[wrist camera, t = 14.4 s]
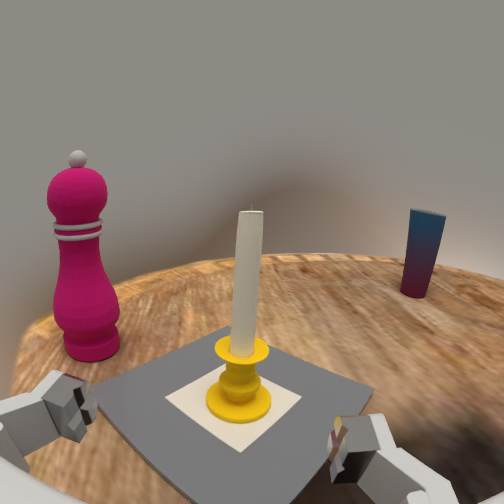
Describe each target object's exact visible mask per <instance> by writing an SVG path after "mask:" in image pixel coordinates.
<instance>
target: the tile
mask: <svg viewBox="0 0 504 504" xmlns="http://www.w3.org/2000/svg"><path fill="white" fill-rule="evenodd" d="M230 335H231V327H229V326H226V327H224V328H222V329H219V330H217V331H215V332H213V333H211V334H209V335H207V336H205V337H203V338H201V339H198V340H196V341H194V342H192V343H190V344H188V345H185V346H183V347H181V348H179V349H177V350H175V351H172V352H170V353H168V354H166V355H163V356H161V357H159V358H157V359H154V360H152V361H150V362H148V363H145V364H143V365H141V366H138V367H136V368H134V369H131V370H129V371H127V372H124V373H122V374H119V375H117V376H115V377H112V378H110V379H107V380H105V381H103V382H100V383H98V384H95V385H93V386H92V388H93V391H92V392H91V394H92V395H93V397H94V398H95V399H96V401H97V407H98V409H99V410H100V411H101V412H102V414H103V415H104V416H105V417H106V419H107V420H108V421H109V422H110V423H111V424H112V426H113V427H114V428H115V429H116V430H117V431H118V433H119V434H120V435H121V436H122V437H123V438H124V439H125V440H126V441H127V443H128V444H129V445H130V446H131V447H132V448H133V449H134V450H135V451H136V452H137V453H138V454H139V455H140V456H141V457H142V458H143V459H144V460H145V461H146V462H147V463H148V464H149V465H150V466H151V467H152V468H153V469H154V470H155V471H156V472H157V473H158V474H159V475H160V476H161V477H162V478H164V479H165V480H166V481H167V482H168V483H169V484H170V485H171V486H172V487H174V488H175V489H176V490H177V491H178V492H179V493H181V494H182V495H183V496H184V497H185V498H187V499H188V500H189V501H190V502H191V503H193V504H292V503H293V502H294V501H295V500H296V498H297V497H298V496H299V495H300V494H301V493H302V492H303V490H304V489H305V488H306V487H307V486H308V484H309V483H310V482H311V481H312V480H313V478H314V477H315V476H316V475H317V473H318V472H319V471H320V470H321V468H322V467H323V466H324V465H325V463H326V462H327V461H328V459H329V458H328V453H327V445H328V438H329V435H330V432H332V431H333V430H335V428H334V422H335V419H336V417H337V416H345V415H360V414H361V412H362V411H363V409H364V407H365V406H366V404H367V403H368V401H369V399H370V398H371V396H372V394H373V391H374V388H371V387H369V386H366V385H363V384H361V383H358V382H355V381H353V380H350V379H348V378H345V377H343V376H340V375H338V374H335V373H333V372H330V371H328V370H325V369H323V368H320V367H318V366H315V365H313V364H311V363H308V362H306V361H304V360H301V359H299V358H297V357H294V356H292V355H290V354H287V353H285V352H283V351H281V350H278V349H276V348H274V347H272V346H269V345H268V347H269V354H268V356H267V358H265V359H264V360H263V361H261V362H259V363H256V370H255V372H256V373H257V374H258V375H259V376H260V379H261V385H263V386H264V387H265V388H266V389H267V390H268V391H269V393H270V395H271V407H270V409H269V411H268V412H267V414H266V415H265V416H264V417H262V418H260V419H258V420H256V421H253V422H250V423H240V424H239V423H231V422H227V421H224V420H221V419H220V418H218V417H216V416H215V415H214V414H213V413H211V412H210V410H209V409H208V407H207V404H206V394H207V391H208V389H209V388H210V387H211V386H212V385H213V384H215V383H216V382H218V381H219V376H220V375H221V373H222V372H223V371H225V370H226V362H227V361H224V360H222V359H221V358H220V357H219V356H218V355H217V354H216V352H215V344H216V343H217V342H218V340H220V339H221V338H223V337H226V336H230Z"/></svg>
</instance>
